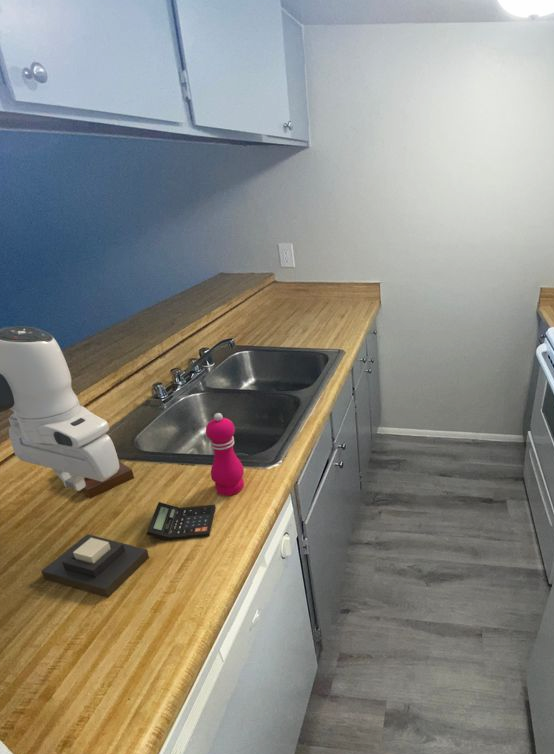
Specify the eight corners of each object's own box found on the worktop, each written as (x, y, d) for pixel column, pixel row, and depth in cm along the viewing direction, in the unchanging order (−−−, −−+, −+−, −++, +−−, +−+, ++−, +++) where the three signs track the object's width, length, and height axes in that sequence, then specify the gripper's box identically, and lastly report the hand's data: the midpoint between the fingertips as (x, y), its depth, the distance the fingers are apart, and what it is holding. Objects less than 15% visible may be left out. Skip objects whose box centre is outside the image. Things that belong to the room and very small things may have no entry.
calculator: (209, 536, 97) (206, 525, 96) (148, 543, 95) (144, 531, 93) (215, 507, 105) (213, 496, 104) (159, 512, 103) (156, 502, 102)
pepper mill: (223, 477, 115) (210, 404, 106) (251, 480, 114) (240, 407, 105) (208, 495, 109) (193, 419, 99) (237, 499, 108) (225, 423, 99)
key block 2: (44, 579, 86) (37, 563, 84) (90, 542, 94) (84, 526, 93) (108, 597, 83) (102, 581, 81) (149, 557, 91) (145, 542, 90)
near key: (75, 559, 86) (72, 552, 85) (93, 544, 89) (91, 537, 88) (93, 564, 85) (90, 557, 84) (111, 549, 88) (108, 542, 87)
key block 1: (61, 476, 113) (56, 460, 111) (105, 458, 120) (100, 443, 118) (90, 498, 106) (84, 482, 104) (134, 478, 114) (130, 462, 111)
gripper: (-12, 418, 80) (16, 485, 86) (83, 441, 75) (105, 510, 81) (24, 403, 85) (48, 466, 92) (115, 423, 80) (134, 489, 87)
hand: (75, 487), depth 86 cm, fingers closed
